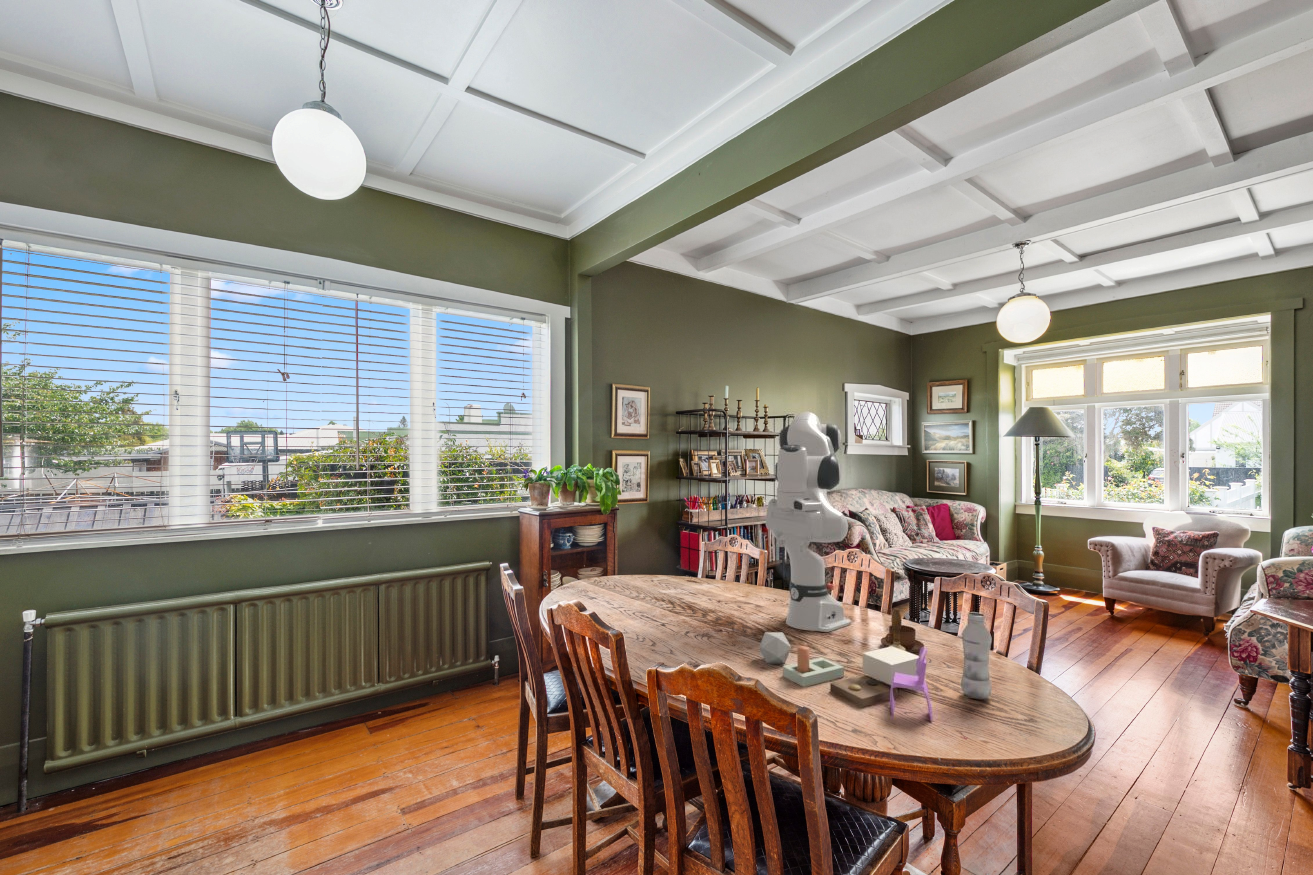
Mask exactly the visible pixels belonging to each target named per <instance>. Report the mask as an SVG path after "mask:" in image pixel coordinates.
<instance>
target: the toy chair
mask: <svg viewBox="0 0 1313 875" xmlns="http://www.w3.org/2000/svg"><path fill="white" fill-rule="evenodd" d="M927 651H928V648H926V647H925V646H924V647H922V648H921V650H920V651H919V654H918V656H919V658H918V660H917V663H916V666H917V671H916V673H917V674H918V676H912V675H906V674H902V673H896V672H895V676H894V678H893V680H892V685H890V686H891V690H890V699H889V701H890V702H889V703H890V711H891V714H892V715H893V716H894V714H895V709H896V701H895V698H894V697H893V688H901V689H909V690H910V689H911V690H915V691H919V692H922V693H923V694H924V695H925V699H926V704H927V709H928V714H929V719H930V722H931V723H933V716H934V714H933V712H934V711H933V708H932V703H931V700H930V694H929V688H928V687H929V686H928V683H927V682H926V679H925V678H926V669H927V663H928V661H927V659H925V658H926V655H927Z"/></svg>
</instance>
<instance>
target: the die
mask: <svg viewBox="0 0 1313 875" xmlns="http://www.w3.org/2000/svg"><path fill="white" fill-rule="evenodd" d="M758 649H759V651H760V653H761V655H762V657H763V659H764V661H765V663H766V664H786V662H787V659H788V657H789V654H790V652H791V650H792V646H791V645H790V643H789V640H788V639H787V637H786V636H785V633H784V632H782V631H781V632H780V631H779V632H774V631H773V632H771V631H769V632H767V631H766V632H764V633H763V636H762V639H761V641H760V644H759V646H758Z"/></svg>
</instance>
